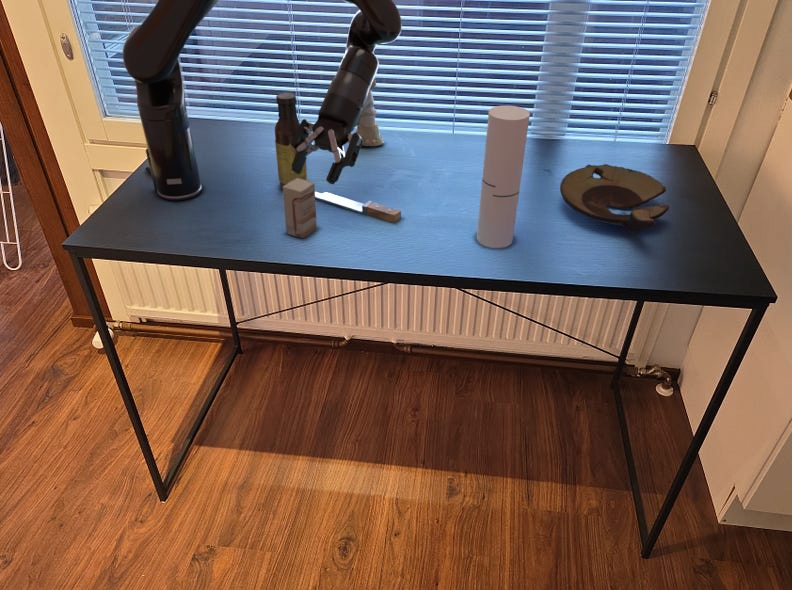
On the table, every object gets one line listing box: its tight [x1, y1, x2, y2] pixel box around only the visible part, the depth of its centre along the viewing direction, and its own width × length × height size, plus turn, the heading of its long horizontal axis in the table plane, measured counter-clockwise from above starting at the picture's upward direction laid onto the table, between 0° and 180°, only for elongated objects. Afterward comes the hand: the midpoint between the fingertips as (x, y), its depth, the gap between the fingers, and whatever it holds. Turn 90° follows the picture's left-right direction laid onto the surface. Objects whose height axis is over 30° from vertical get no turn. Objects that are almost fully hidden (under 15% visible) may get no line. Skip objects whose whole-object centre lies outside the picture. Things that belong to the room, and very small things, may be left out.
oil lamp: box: [559, 163, 670, 234], centre depth 137 cm, size 22×30×8 cm
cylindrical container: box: [476, 105, 531, 249], centre depth 124 cm, size 7×7×25 cm
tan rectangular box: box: [282, 178, 318, 239], centre depth 130 cm, size 5×4×10 cm
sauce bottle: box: [274, 92, 308, 190], centre depth 142 cm, size 7×6×20 cm
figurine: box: [354, 60, 385, 147], centre depth 162 cm, size 9×8×20 cm
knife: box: [315, 191, 402, 224], centre depth 141 cm, size 22×3×2 cm, turn 57°
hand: (312, 177), depth 131 cm, fingers open, 8 cm apart
